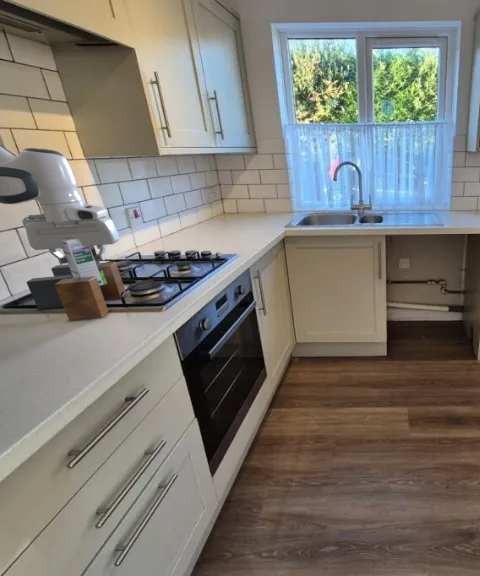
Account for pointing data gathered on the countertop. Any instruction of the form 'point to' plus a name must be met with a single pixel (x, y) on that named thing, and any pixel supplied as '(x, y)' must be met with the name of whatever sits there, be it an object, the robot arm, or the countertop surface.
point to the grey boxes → (49, 288)
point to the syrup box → (83, 260)
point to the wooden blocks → (90, 293)
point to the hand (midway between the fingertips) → (83, 261)
